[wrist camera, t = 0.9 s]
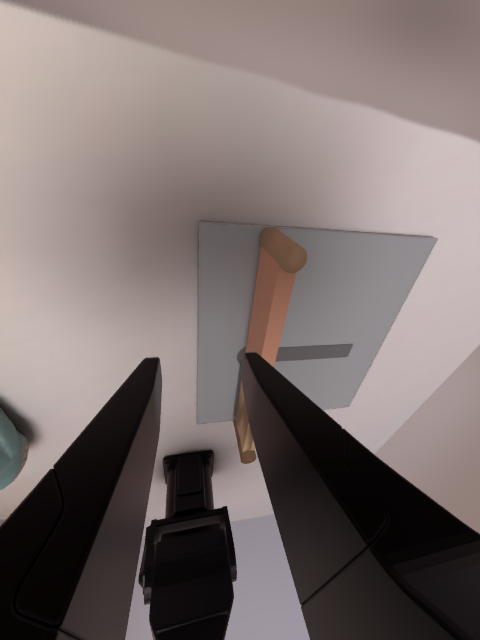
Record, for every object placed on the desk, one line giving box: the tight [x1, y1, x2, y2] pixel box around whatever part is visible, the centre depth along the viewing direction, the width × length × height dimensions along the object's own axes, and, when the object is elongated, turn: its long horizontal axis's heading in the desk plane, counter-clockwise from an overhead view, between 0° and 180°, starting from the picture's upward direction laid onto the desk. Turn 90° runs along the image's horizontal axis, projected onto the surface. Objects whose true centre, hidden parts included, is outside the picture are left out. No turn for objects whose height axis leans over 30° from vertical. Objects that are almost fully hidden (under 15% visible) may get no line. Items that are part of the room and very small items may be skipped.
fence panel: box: [245, 227, 307, 367], centre depth 18 cm, size 13×2×4 cm, turn 174°
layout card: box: [197, 221, 438, 424], centre depth 24 cm, size 22×20×1 cm
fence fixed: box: [234, 381, 256, 464], centre depth 24 cm, size 10×2×4 cm, turn 174°
